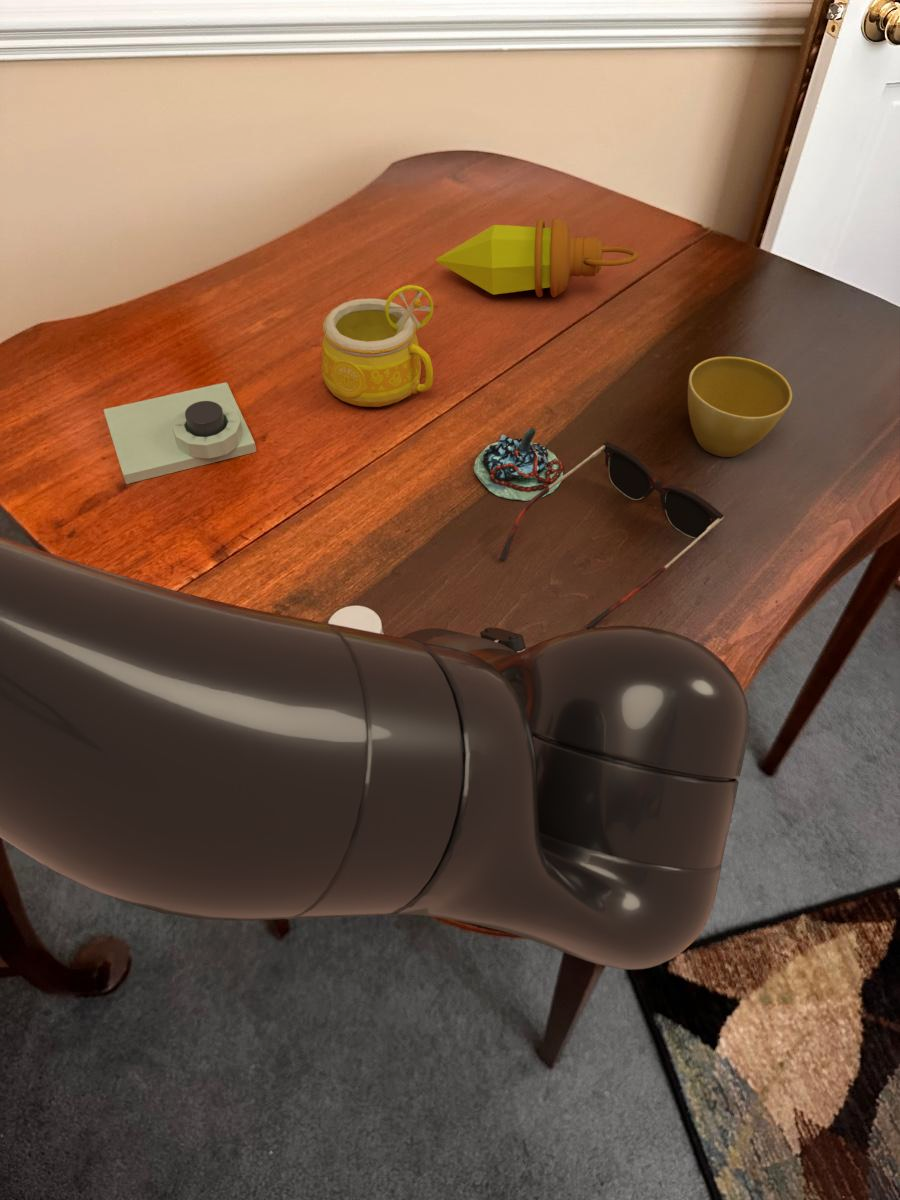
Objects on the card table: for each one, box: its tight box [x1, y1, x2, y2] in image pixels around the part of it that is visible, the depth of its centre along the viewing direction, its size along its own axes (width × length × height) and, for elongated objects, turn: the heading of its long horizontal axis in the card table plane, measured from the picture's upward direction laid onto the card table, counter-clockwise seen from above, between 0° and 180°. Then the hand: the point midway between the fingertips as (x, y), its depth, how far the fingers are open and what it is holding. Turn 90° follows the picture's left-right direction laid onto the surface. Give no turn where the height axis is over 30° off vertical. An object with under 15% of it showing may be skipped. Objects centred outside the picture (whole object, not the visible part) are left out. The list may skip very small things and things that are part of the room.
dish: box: [473, 427, 564, 502], centre depth 87 cm, size 8×7×8 cm
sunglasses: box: [499, 441, 725, 629], centre depth 79 cm, size 14×16×5 cm
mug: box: [321, 284, 435, 408], centre depth 91 cm, size 13×11×12 cm
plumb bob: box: [434, 216, 639, 298], centre depth 107 cm, size 9×9×25 cm
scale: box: [102, 381, 257, 485], centre depth 88 cm, size 13×12×3 cm
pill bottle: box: [327, 605, 385, 634], centre depth 67 cm, size 5×5×8 cm
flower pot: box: [687, 356, 793, 458], centre depth 89 cm, size 10×10×7 cm
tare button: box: [185, 401, 225, 437], centre depth 86 cm, size 4×4×2 cm
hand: (380, 670), depth 59 cm, fingers open, 8 cm apart
